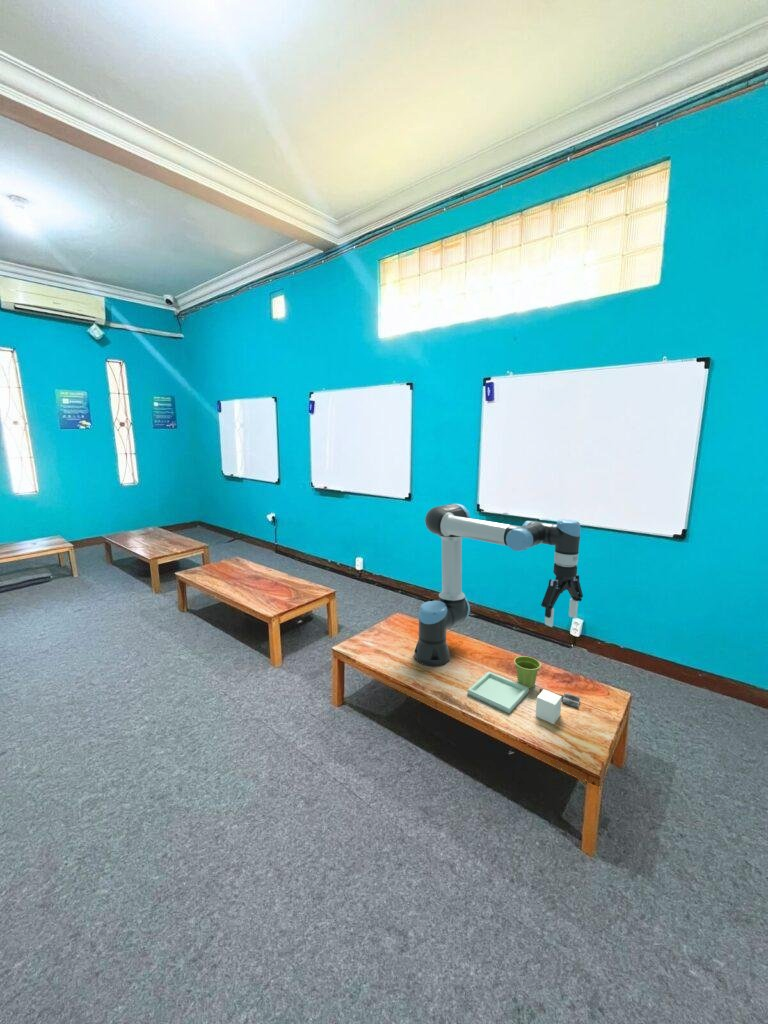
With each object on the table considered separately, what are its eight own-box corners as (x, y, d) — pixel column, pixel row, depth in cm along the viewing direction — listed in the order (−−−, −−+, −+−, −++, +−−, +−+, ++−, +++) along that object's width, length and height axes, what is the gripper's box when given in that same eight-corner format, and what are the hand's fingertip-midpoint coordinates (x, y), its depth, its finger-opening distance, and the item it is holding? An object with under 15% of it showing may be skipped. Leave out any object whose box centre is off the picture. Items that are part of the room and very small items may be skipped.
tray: (467, 694, 145) (467, 689, 145) (488, 676, 157) (488, 671, 157) (509, 714, 135) (509, 708, 134) (528, 692, 146) (528, 687, 146)
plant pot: (525, 693, 146) (526, 671, 145) (507, 679, 154) (508, 659, 153) (544, 687, 150) (546, 666, 148) (526, 674, 158) (527, 654, 157)
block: (535, 716, 134) (536, 697, 133) (542, 707, 138) (543, 689, 137) (553, 724, 130) (555, 704, 129) (560, 715, 134) (561, 696, 133)
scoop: (538, 695, 145) (538, 691, 144) (540, 690, 148) (541, 685, 148) (578, 708, 138) (578, 703, 137) (579, 701, 141) (579, 697, 141)
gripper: (552, 572, 130) (547, 633, 133) (596, 561, 143) (591, 617, 146) (532, 566, 136) (528, 624, 140) (577, 556, 149) (572, 610, 152)
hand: (560, 621), depth 143 cm, fingers open, 13 cm apart
